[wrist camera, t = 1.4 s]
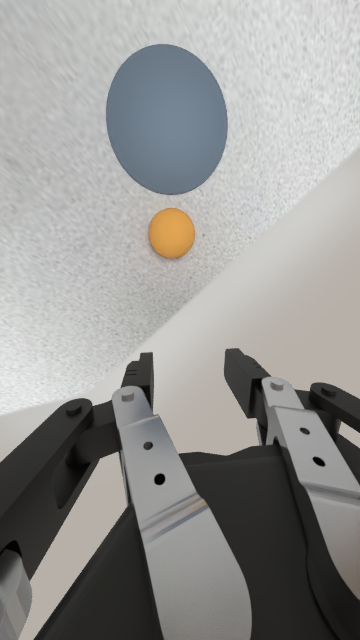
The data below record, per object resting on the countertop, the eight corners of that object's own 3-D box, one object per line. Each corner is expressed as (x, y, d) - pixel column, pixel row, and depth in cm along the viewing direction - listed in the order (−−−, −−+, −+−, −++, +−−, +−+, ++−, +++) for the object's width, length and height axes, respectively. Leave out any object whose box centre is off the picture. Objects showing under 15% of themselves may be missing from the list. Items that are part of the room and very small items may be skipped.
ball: (150, 258, 27) (148, 257, 22) (148, 213, 26) (146, 201, 20) (190, 258, 28) (198, 257, 22) (191, 214, 26) (199, 202, 21)
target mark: (113, 193, 25) (112, 192, 24) (99, 39, 21) (99, 37, 20) (223, 196, 26) (224, 195, 26) (230, 52, 22) (231, 50, 22)
